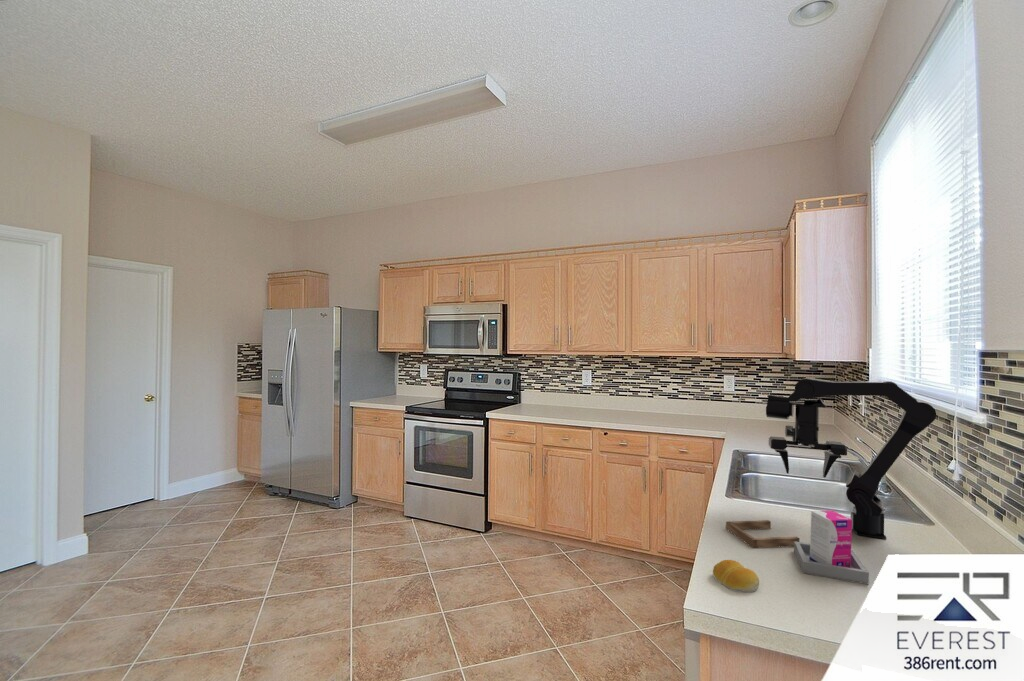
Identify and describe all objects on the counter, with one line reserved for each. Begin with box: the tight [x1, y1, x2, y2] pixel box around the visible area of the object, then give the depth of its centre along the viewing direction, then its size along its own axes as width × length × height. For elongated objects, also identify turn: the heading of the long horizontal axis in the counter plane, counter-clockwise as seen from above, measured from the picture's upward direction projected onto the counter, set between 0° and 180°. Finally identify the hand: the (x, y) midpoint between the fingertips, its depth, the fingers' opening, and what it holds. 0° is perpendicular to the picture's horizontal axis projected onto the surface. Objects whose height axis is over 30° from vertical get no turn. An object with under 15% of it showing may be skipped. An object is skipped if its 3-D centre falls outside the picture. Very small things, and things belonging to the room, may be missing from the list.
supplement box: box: [809, 510, 853, 568], centre depth 108 cm, size 6×6×12 cm
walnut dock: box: [725, 519, 800, 549], centre depth 124 cm, size 12×12×2 cm
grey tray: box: [793, 541, 870, 584], centre depth 108 cm, size 12×12×2 cm
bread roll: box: [712, 559, 760, 593], centre depth 101 cm, size 8×9×4 cm
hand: (805, 475), depth 137 cm, fingers open, 9 cm apart
